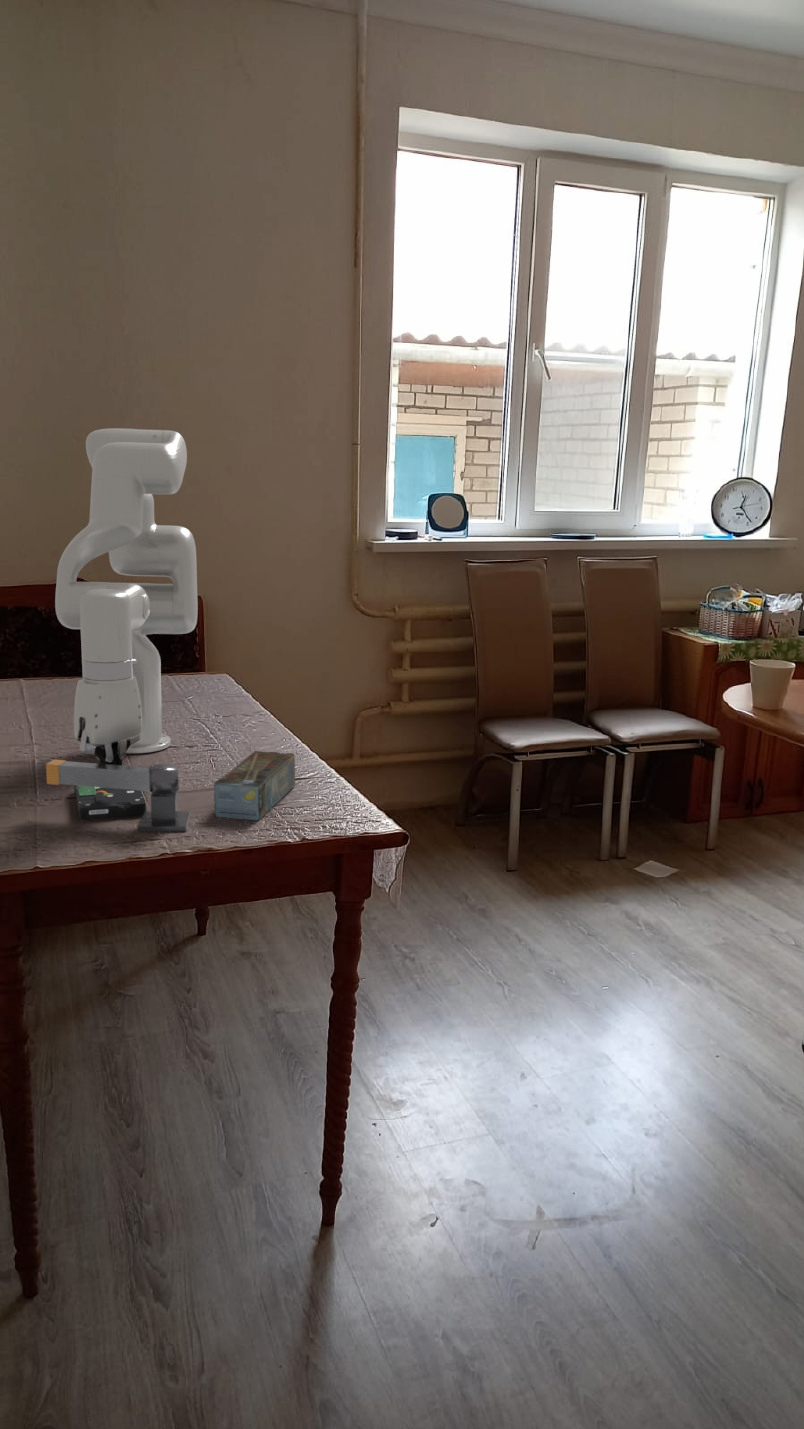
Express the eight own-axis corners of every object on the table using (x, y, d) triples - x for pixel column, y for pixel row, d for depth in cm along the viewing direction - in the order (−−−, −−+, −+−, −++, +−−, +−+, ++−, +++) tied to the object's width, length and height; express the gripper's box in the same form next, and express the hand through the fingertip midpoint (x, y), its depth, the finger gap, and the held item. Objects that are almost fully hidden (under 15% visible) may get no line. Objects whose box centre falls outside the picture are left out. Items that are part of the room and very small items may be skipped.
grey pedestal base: (144, 816, 166) (143, 786, 164) (189, 815, 166) (189, 785, 165) (138, 831, 159) (138, 800, 158) (186, 831, 160) (185, 800, 158)
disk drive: (147, 819, 166) (136, 790, 180) (147, 802, 166) (136, 774, 179) (79, 825, 163) (73, 795, 176) (79, 808, 162) (72, 779, 175)
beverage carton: (211, 817, 167) (211, 778, 165) (253, 783, 185) (253, 747, 183) (259, 822, 165) (259, 782, 163) (297, 787, 183) (297, 751, 182)
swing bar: (182, 787, 163) (182, 765, 162) (172, 795, 159) (172, 773, 158) (57, 777, 166) (56, 755, 165) (44, 785, 162) (43, 763, 161)
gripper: (131, 660, 170) (134, 768, 175) (51, 673, 158) (57, 789, 163) (161, 666, 166) (164, 777, 170) (82, 681, 154) (87, 799, 159)
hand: (112, 783), depth 167 cm, fingers closed
